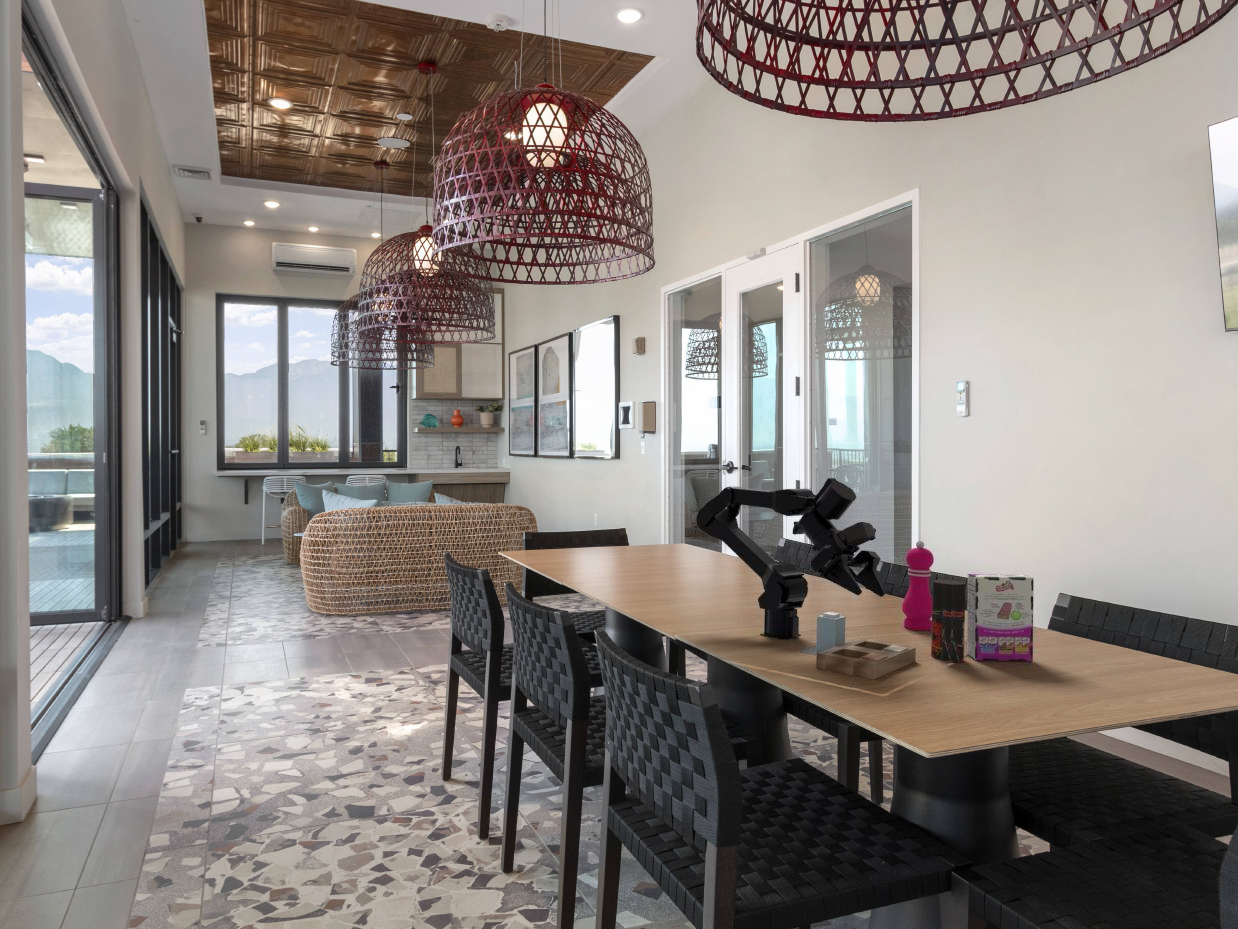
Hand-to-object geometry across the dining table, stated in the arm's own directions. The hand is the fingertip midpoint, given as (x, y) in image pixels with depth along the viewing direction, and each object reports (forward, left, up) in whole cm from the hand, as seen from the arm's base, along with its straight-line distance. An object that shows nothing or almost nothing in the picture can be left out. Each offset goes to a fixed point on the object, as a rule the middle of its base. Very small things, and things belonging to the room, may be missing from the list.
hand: (872, 594), depth 160 cm
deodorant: (+11, +11, -13) cm, 20 cm away
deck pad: (-7, -2, -12) cm, 15 cm away
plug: (-7, -2, -12) cm, 14 cm away
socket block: (+2, -6, -12) cm, 14 cm away
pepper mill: (-5, +36, -13) cm, 39 cm away
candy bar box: (+18, +19, -13) cm, 29 cm away
